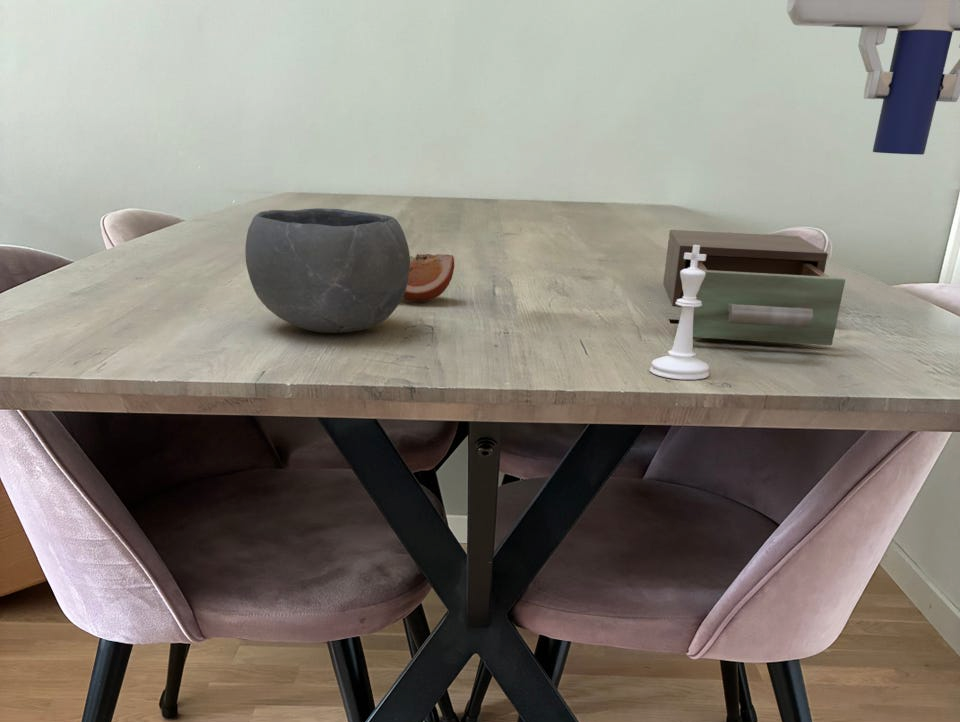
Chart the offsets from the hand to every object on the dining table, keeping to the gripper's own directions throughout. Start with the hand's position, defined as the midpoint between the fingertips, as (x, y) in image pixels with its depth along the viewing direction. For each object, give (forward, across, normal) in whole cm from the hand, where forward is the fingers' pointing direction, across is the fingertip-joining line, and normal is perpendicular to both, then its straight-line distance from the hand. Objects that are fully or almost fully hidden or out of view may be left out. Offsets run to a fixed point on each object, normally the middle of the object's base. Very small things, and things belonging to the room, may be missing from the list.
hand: (909, 100), depth 73 cm
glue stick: (+4, 0, 0) cm, 4 cm away
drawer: (+20, +7, -12) cm, 24 cm away
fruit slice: (+21, +42, -23) cm, 52 cm away
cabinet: (+21, +7, -26) cm, 34 cm away
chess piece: (+21, +15, +4) cm, 26 cm away
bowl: (+21, +47, -5) cm, 51 cm away
